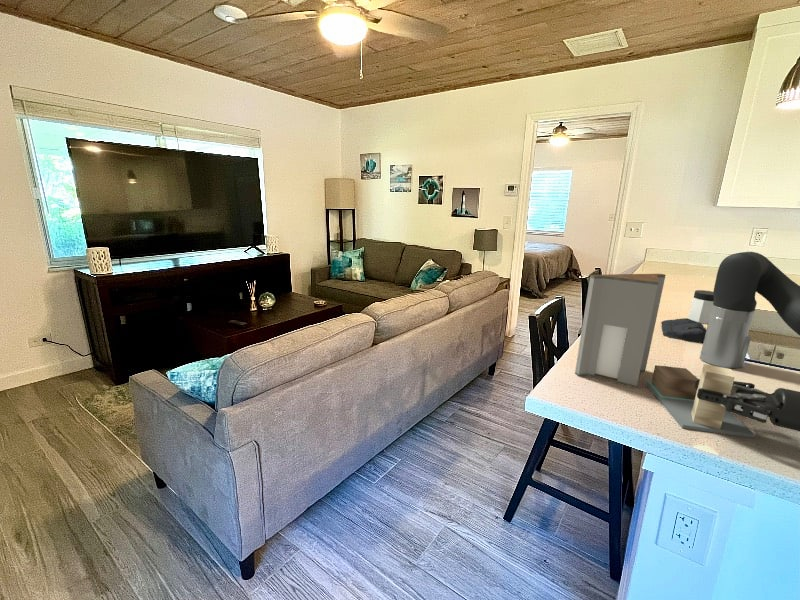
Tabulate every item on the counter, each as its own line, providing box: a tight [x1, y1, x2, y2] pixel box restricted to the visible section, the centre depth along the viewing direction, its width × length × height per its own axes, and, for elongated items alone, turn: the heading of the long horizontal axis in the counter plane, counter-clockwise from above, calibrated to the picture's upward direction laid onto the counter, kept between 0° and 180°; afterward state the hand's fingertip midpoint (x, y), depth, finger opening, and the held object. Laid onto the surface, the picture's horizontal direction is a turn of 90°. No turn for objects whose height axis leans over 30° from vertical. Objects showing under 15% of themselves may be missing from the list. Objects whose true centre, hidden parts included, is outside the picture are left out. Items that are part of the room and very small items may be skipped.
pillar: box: [691, 363, 736, 429], centre depth 79 cm, size 4×4×12 cm
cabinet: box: [574, 273, 666, 389], centre depth 97 cm, size 21×10×28 cm, turn 100°
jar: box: [687, 289, 714, 325], centre depth 150 cm, size 9×8×12 cm
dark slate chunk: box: [660, 317, 707, 344], centre depth 137 cm, size 15×22×5 cm
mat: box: [645, 380, 756, 439], centre depth 87 cm, size 13×20×1 cm, turn 167°
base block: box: [650, 364, 699, 400], centre depth 92 cm, size 7×7×5 cm
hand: (697, 388), depth 80 cm, fingers closed on pillar, 4 cm apart
